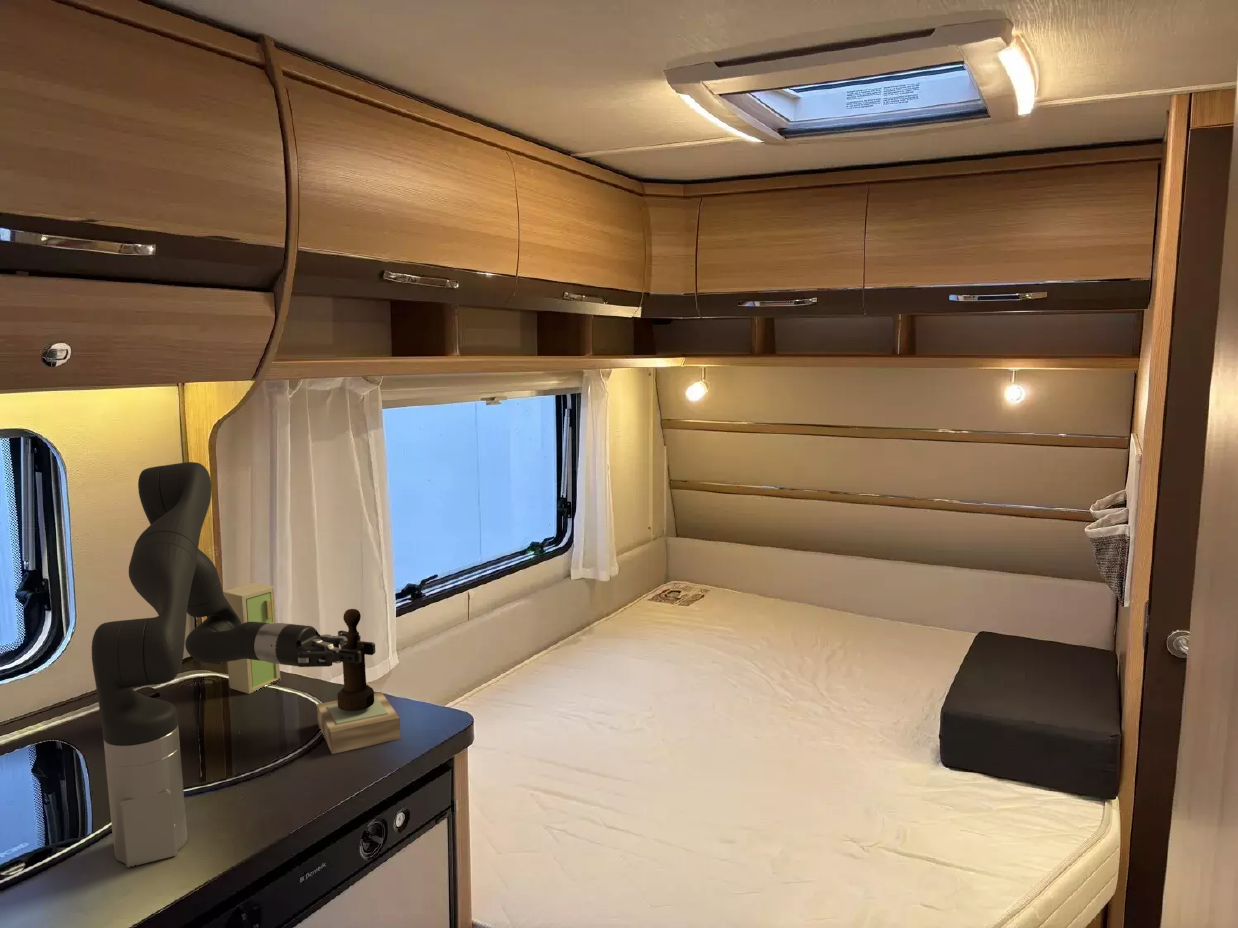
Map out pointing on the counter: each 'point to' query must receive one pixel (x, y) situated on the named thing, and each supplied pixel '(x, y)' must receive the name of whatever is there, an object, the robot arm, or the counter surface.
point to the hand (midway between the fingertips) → (367, 652)
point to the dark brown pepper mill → (354, 671)
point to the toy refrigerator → (252, 607)
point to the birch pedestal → (358, 725)
